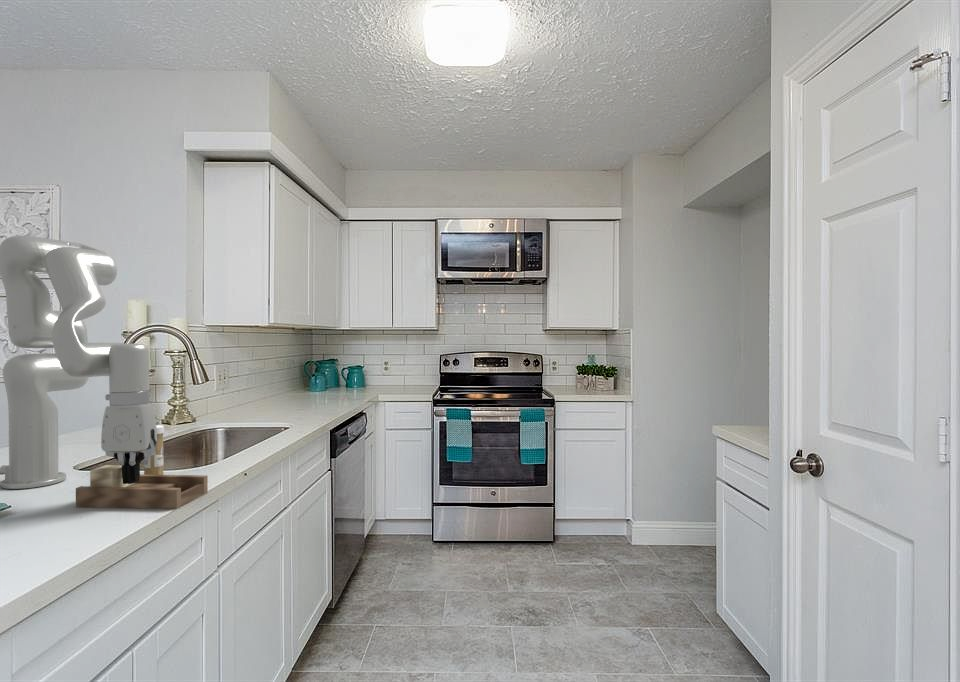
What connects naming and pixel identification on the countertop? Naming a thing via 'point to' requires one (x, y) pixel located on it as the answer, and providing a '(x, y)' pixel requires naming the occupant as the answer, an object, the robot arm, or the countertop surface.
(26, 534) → the countertop surface
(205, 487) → the brown wooden tray
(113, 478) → the beech block
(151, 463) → the sprinkles bottle
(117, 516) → the countertop surface
